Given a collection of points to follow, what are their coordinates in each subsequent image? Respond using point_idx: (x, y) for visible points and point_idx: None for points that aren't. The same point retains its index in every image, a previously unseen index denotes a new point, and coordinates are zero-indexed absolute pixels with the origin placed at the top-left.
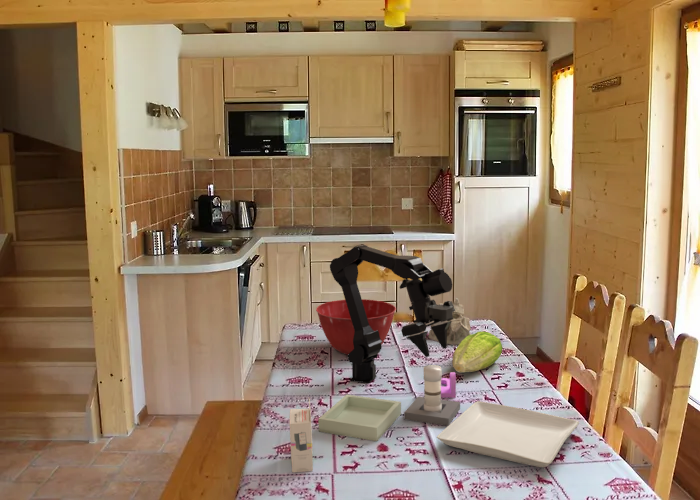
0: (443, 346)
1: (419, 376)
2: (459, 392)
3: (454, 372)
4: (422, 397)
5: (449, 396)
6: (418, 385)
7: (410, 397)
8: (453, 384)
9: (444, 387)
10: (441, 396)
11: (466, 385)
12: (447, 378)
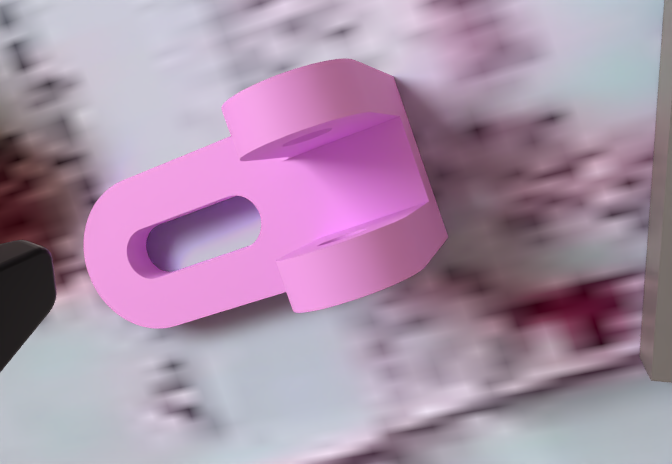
0: (23, 311)
1: (75, 453)
2: None
3: (254, 92)
4: (668, 334)
5: (409, 128)
6: (242, 429)
7: (517, 444)
8: (370, 87)
9: (279, 208)
10: (433, 194)
11: (111, 69)
12: (85, 234)
